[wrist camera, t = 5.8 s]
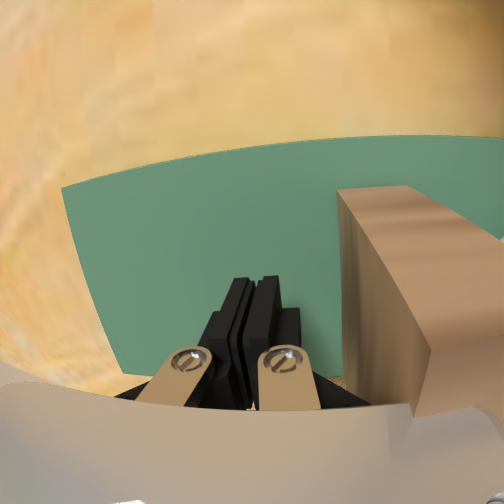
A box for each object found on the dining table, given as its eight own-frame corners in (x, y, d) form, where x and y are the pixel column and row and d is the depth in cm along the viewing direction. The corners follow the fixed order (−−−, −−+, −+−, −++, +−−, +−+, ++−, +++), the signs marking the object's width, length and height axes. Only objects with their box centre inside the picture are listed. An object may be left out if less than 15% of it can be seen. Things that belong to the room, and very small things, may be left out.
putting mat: (92, 178, 17) (61, 188, 14) (586, 150, 11) (612, 156, 8) (140, 347, 21) (123, 373, 18) (567, 301, 15) (586, 319, 12)
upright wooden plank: (336, 189, 12) (431, 350, 3) (416, 184, 12) (601, 302, 2) (341, 351, 15) (357, 544, 6) (407, 344, 14) (463, 519, 5)
